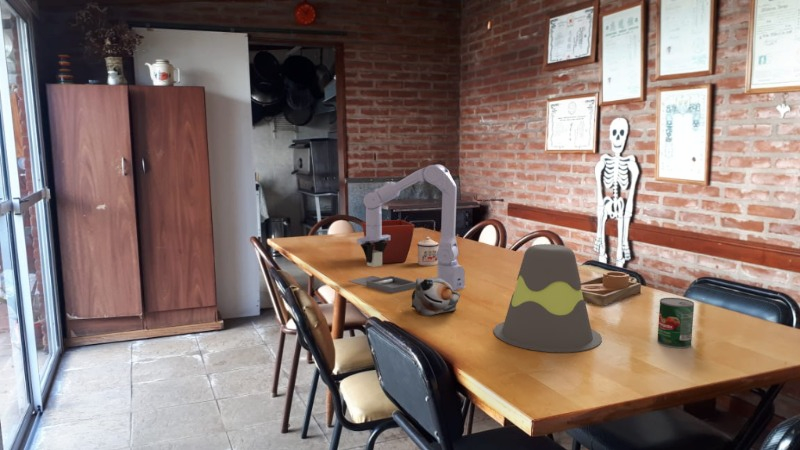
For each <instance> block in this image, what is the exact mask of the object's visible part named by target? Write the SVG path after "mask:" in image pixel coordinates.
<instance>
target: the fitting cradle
mask: <svg viewBox="0 0 800 450" xmlns="http://www.w3.org/2000/svg"><path fill="white" fill-rule="evenodd" d="M588 284H603V275H602V276H601V275H600V276H597V277H593V278H591V279H587V280H585V281H581V285H588ZM641 289H642V283H641V282H634V281H630V280H629V286H628V287H625V288H622V289H620V290H617V291H614V292H611V293H608V294H605V295H600V294H595V293H590V292H585V291H582V295H583V300H584V301H585V303H586V302H587V303H591V304H594V305H595V304H596V305H600V306H606V305H609V304H612V303H615V302H618V301H621V300H622V299H626V298H628V297H630V296H631V297H632V296H634V295H636V294H638V292H639V293H641ZM633 294H634V295H633Z"/></svg>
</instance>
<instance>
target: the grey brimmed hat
mask: <svg viewBox="0 0 800 450" xmlns="http://www.w3.org/2000/svg"><path fill="white" fill-rule="evenodd" d="M523 254H524V255H523V257H522V261H521V264H520V268H519V270H518V273H517V280H516V281H517V282H516V286H515V289H514V291H513V293H512V294H511V295H512V296H511V299H510V302H509V305H508V309H507V311H506V315H505V319H504V321H503V322H501V323H498V324H497V325H496V326H495V327H494V329H493V334H494V336H496V338H497V339H499V340H500V341H502V342H504V343H506V344H508V345H512V346H515V347H518V348H521V349H525V350H531V351H535V352H536V351H537V352H542V353H543V352H544V353H545V352H546V353H560V354H561V353H563V354H564V353H577V352H578V353H579V352H585V351H590V350H593V349H595V348H597V347H598V346H600V345H601V343H602V342H603V338H602V336H601V334H600V333H599V332H598V331H596V330H595V329H593V328H592V327H591V323H590V319H589V318H590V316H589V314H588V309H587V304H586V301H584V300H583V295H582V291H581V282H582V281H581V277H580V272H579V267H578V263H577V262H578V261H577V258H576V254H575V252H574V251H573V250H572V249H571V248H569V247H568V246H565V245H562V244H561V245H560V244H553V243H552V244H550V243H545V244H544V243H543V244H541V243H540V244H534V245H531V246H529V247H528V248H526V250H525V252H524V253H523Z"/></svg>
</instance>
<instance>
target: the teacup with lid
mask: <svg viewBox="0 0 800 450" xmlns="http://www.w3.org/2000/svg"><path fill="white" fill-rule="evenodd" d="M416 245H417V264H418V265H420V266H426V267H428V266H429V267H431V266H436V265H437V266H438V260H437V257H436V253H437V251H438V249H439V242H437V241H434V240H433V239H431V237H430V236H426V237H425V239H423V240H421V241H418V242H417V244H416Z"/></svg>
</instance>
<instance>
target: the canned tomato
mask: <svg viewBox="0 0 800 450" xmlns="http://www.w3.org/2000/svg"><path fill="white" fill-rule="evenodd" d="M694 309H695V302H694V301H692V300H690V299H686V298H682V297H681V298H680V297H663V298H660V299H659V311H658V326H657V340H656V341H657V343H658V344H659V345H661V346H664V347H668V348H672V349H673V348H674V349H688V348H691V347H692V341H693V340H692V339H693V326H694V325H693V323H694V322H693V321H694Z"/></svg>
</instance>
